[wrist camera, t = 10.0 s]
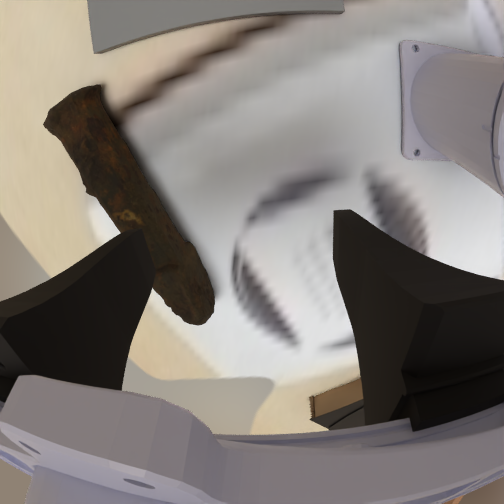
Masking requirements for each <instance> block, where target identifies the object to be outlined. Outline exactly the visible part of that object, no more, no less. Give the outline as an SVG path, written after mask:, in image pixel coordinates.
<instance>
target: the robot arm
mask: <svg viewBox="0 0 504 504" xmlns="http://www.w3.org/2000/svg"><path fill="white" fill-rule="evenodd" d="M413 45H415V46H416V48H417V51H416V52H414V51H413V49H412V46H413ZM400 59H401V74H402V102H403V135H402V154H403V156H404V157H405V158H407V159H409V160H445V161H454V162H455V163H457V164H458V165H460V166H461V167H463V168H464V169H466V170H467V171H469V172H470V173H472V174H473V175H474V176H476V177H477V178H479V179H480V180H481V181H483V182H484V183H485V184H487V185H488V186H489V187H491V188H492V189H493V190H495V191H496V192H497V193H499V194H500V195H501V196H502V197H504V57H497V56H487V55H479V54H475V53H471V52H468V51H463V50H459V49H455V48H450V47H445V46H440V45H435V44H430V43H424V42H417V41H411V40H404V41H402V42H401V43H400ZM416 149H418V153H417V154H416V155H414V151H415V150H416ZM333 262H334V267H335V272H336V277H337V282H338V285H339V288H340V291H341V294H342V297H343V300H344V303H345V306H346V310H347V313H348V316H349V319H350V322H351V325H352V329H353V333H354V337H355V342H356V348H357V354H358V360H359V368H360V375H361V383H362V392H363V402H364V415H365V426H361V427H355V428H347V429H339V430H331V431H321V432H310V433H296V434H274V435H223V434H212V432H211V430H210V429H209V428H208V427H207V426H206V424H204V423H203V422H202V421H201V420H200V419H199V418H197V417H196V416H195V415H194V414H193V413H192V412H190V411H189V410H186V409H184V408H182V407H180V406H177V405H175V404H172V403H170V402H168V401H166V400H163V399H160V398H156V397H151V396H147V395H142V394H138V393H134V392H127V391H122V384H123V377H124V372H125V367H126V362H127V358H128V354H129V350H130V346H131V342H132V339H133V336H134V334H135V331H136V329H137V326H138V323H139V321H140V318H141V316H142V314H143V311H144V309H145V306H146V304H147V301H148V299H149V296H150V293H151V290H152V287H153V283H154V278H155V274H156V269H155V266H154V263H153V260H152V257H151V254H150V252H149V249H148V246H147V243H146V240H145V237H144V233H143V230H142V228H139V229H130V230H127V231H125V232H123V233H121V234H119V235H117V236H116V237H114V238H113V239H111V240H109V241H108V242H106V243H105V244H104V245H102V246H101V247H99V248H98V249H96V250H95V251H93V252H92V253H91V254H89V255H88V256H86V257H85V258H83V259H82V260H80V261H79V262H77V263H76V264H74V265H73V266H71V267H70V268H68V269H67V270H65V271H63V272H62V273H60V274H58V275H56V276H55V277H53V278H51V279H50V280H48V281H46V282H44V283H42V284H40V285H38V286H36V287H34V288H32V289H30V290H28V291H26V292H23V293H21V294H19V295H16V296H14V297H12V298H9V299H6V300H3V301H1V302H0V459H2V460H4V461H5V462H7V463H9V464H10V465H12V466H14V467H15V468H17V469H19V470H21V471H23V472H24V473H26V474H28V475H30V476H32V479H31V482H30V485H29V489H28V492H27V495H26V499H25V503H24V504H442V503H445V502H447V501H450V500H452V499H455V498H457V497H460V496H462V495H465V494H467V493H469V492H471V491H474V490H476V489H478V488H480V487H482V486H485V485H486V484H489V483H491V482H493V481H495V480H497V479H499V478H501V477H502V476H504V354H503V353H504V281H503V280H499V279H495V278H490V277H486V276H481V275H477V274H474V273H470V272H467V271H464V270H461V269H458V268H455V267H452V266H449V265H447V264H444V263H442V262H439V261H437V260H434V259H432V258H430V257H427V256H425V255H423V254H421V253H419V252H417V251H415V250H413V249H411V248H409V247H407V246H406V245H404V244H402V243H400V242H399V241H397V240H396V239H394V238H392V237H391V236H389V235H387V234H386V233H384V232H383V231H381V230H380V229H378V228H377V227H376V226H374V225H373V224H371V223H370V222H368V221H367V220H366V219H364V218H363V217H361V216H360V215H358V214H357V213H355V212H354V211H352V210H350V209H349V210H334V222H333Z"/></svg>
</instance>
